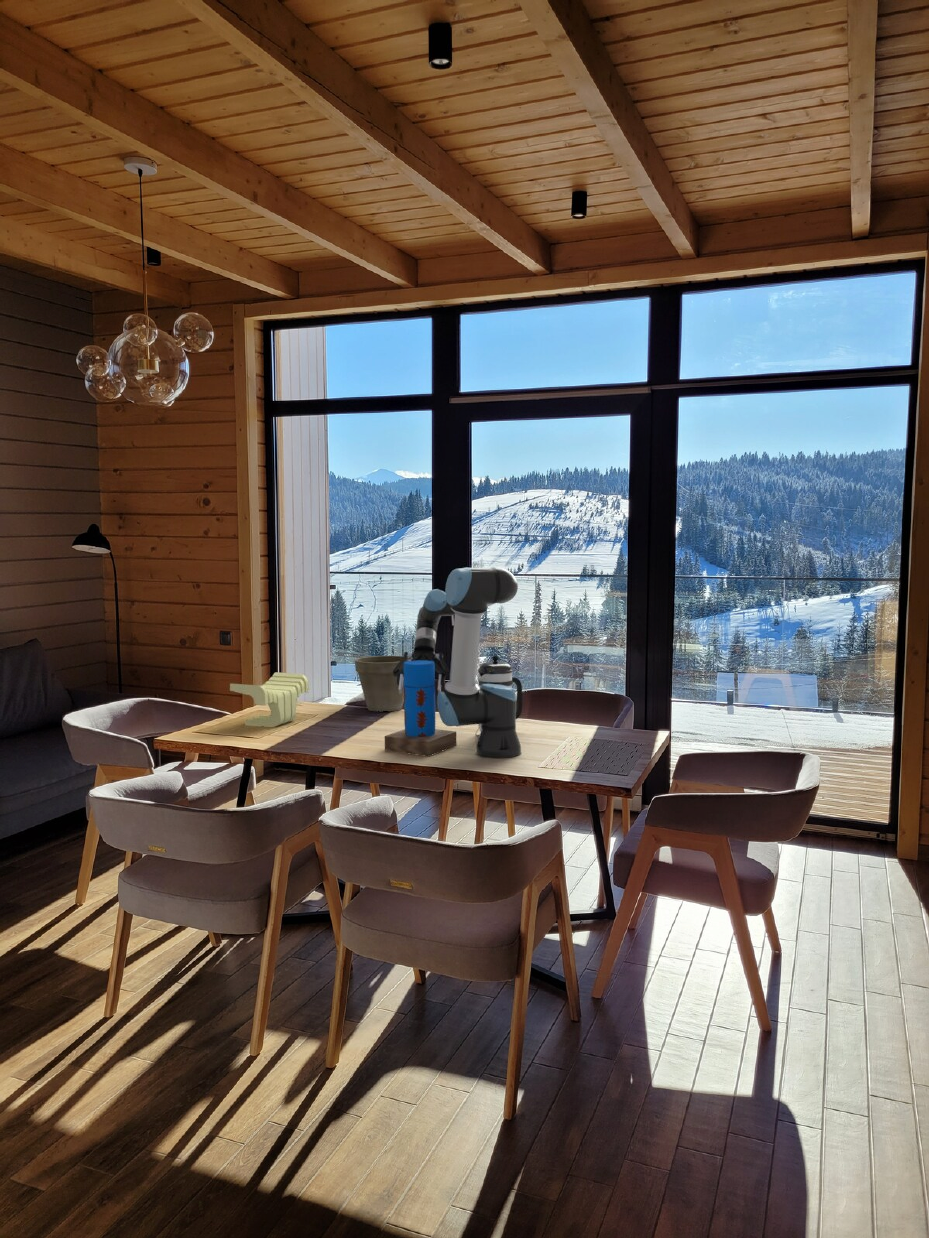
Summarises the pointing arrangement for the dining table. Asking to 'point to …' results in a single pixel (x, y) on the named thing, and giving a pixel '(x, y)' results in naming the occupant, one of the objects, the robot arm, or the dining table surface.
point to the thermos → (419, 698)
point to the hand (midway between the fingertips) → (419, 691)
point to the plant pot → (380, 682)
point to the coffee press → (499, 679)
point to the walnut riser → (420, 742)
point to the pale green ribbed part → (275, 697)
